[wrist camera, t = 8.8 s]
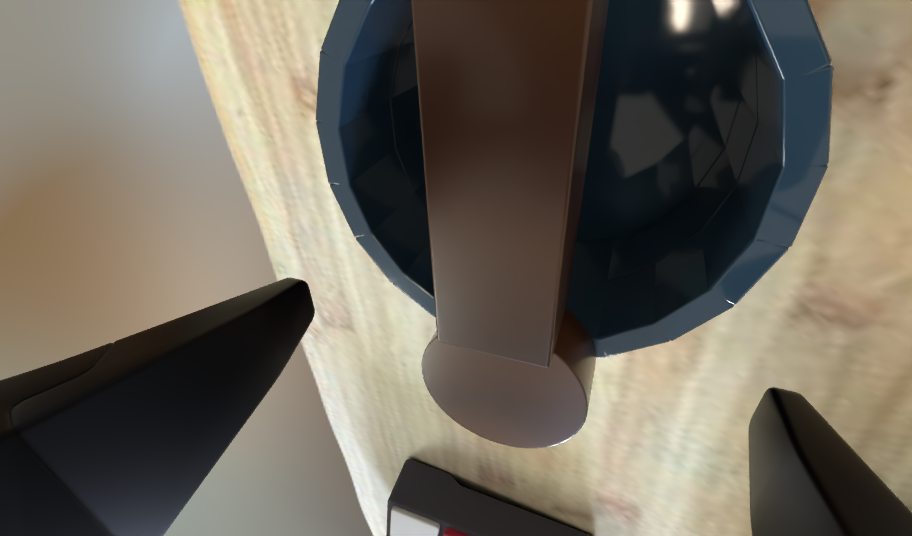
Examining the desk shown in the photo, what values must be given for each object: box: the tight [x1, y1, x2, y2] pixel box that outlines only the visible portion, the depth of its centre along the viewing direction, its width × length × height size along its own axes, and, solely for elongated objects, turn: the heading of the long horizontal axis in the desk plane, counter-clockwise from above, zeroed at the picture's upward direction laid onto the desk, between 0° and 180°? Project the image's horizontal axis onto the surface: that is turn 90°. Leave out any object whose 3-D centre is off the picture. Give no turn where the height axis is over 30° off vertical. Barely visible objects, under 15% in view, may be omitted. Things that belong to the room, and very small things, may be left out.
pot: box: [316, 0, 834, 357], centre depth 14 cm, size 13×13×7 cm
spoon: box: [411, 0, 609, 448], centre depth 11 cm, size 17×5×3 cm, turn 2°
